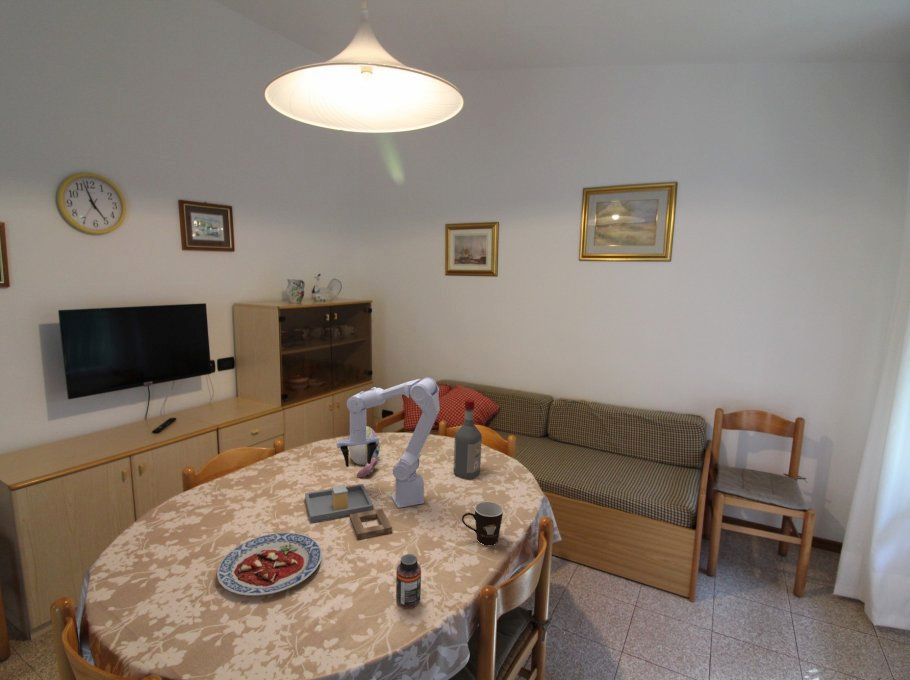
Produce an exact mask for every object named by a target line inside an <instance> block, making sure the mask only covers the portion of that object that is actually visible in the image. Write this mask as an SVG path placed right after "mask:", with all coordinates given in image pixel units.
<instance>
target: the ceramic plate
mask: <svg viewBox="0 0 910 680" xmlns="http://www.w3.org/2000/svg"><path fill="white" fill-rule="evenodd" d="M322 558H323V551H322V548H321V545H320V544H319V543H318V542H317V541H316V540H315V539H313V538H312V537H310V536H307V535H304V534H302V533H301V534H300V533H297V532H296V533H294V532H277V533H271V534H265V535H262V536H258V537H256V538H253V539H250V540H248V541H245V542H243V543H242V544H240V545H237V547H235V548H234V549H232V550H231V551H229V552H228V553H227V554H226V556H224V558H222V560H221V562H220V563H219V565H218V568H217V572H216V573H217V574H216V577H217V581H218V582H219V584H220V585H221V586H222V587H223V588H224V589H225V590H226V591H229V592H230V593H232V594H236V595H239V596H250V597H251V596H254V597H256V596H265V595H273V594H276V593H279V592H283V591H285V590H288V589H290V588H293V587H295V586H297V585H298V584H301V583H302V582H303V581H305V580H306V579H308V578H309V577H310V576H312V574H313V573H314V572H315V571H316V570H317V569H318V568H319V566H320V563H321V561H322Z"/></svg>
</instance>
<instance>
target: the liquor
mask: <svg viewBox="0 0 910 680" xmlns="http://www.w3.org/2000/svg"><path fill="white" fill-rule="evenodd" d="M474 409H475V400H474V399H468V398H467V399H465V400H464V421H463V424H462V425H461V426H460V427H459V428H458V429H457V431H455V432H454V443H453V444H454V448H453V449H454V451H453V473H454V475H455V477H457V476H458V478H461V479H464V480H474V479H475V478H476V477H477V476H478V475H480V473H481V462H482V460H481V459H482V458H481V457H482V433H481V431H480V430H479V429H478V428H477V427H476V425H475V423H474V411H475V410H474Z"/></svg>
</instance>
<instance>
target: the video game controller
mask: <svg viewBox="0 0 910 680" xmlns="http://www.w3.org/2000/svg"><path fill="white" fill-rule="evenodd" d="M378 462H379V459H378V458H377V459H376V458H374V457H373V458H372V459H371V463H370V464H368V462H367V463H366V464H365V465H364V467H363V468H362V469H360V470H358V472H356V477H357V478H359V479H360V478H363V477H366V476H368V477H369V475H370V473H373V471H374V469H375V467H376V466H377V464H378Z"/></svg>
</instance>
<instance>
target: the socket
mask: <svg viewBox="0 0 910 680" xmlns="http://www.w3.org/2000/svg"><path fill="white" fill-rule="evenodd" d="M373 520H376V521H377V523H378V525H374V526H369V527H364V525H363V523H362V522H368V521H373ZM349 521H350V525H351V527H352V530H353V532H354V535H355V537H356V540H357V541H358V540H363V539H367V538H368V539H369V538H373V537H378V536H383V535H387V534H391V533H393V527H392V524H391V522H390V520H389V518H388V516H387V515H386V513H385V510H383V508H378V509H374V510H372V511H366V512H361V513H355V514H350V516H349Z"/></svg>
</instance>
